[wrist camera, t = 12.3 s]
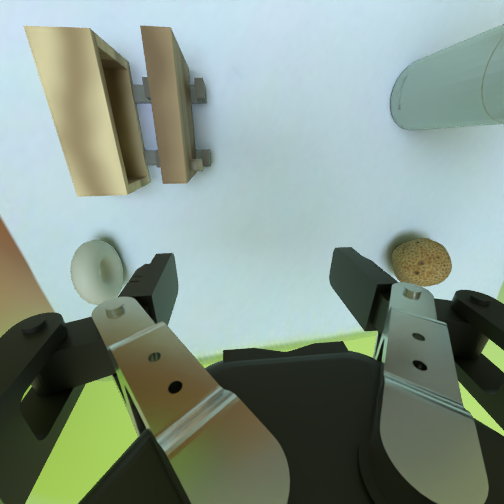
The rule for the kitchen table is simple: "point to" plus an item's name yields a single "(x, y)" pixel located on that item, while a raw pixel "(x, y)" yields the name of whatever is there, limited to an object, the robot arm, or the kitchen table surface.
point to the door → (170, 105)
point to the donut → (97, 272)
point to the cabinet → (97, 110)
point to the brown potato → (421, 262)
